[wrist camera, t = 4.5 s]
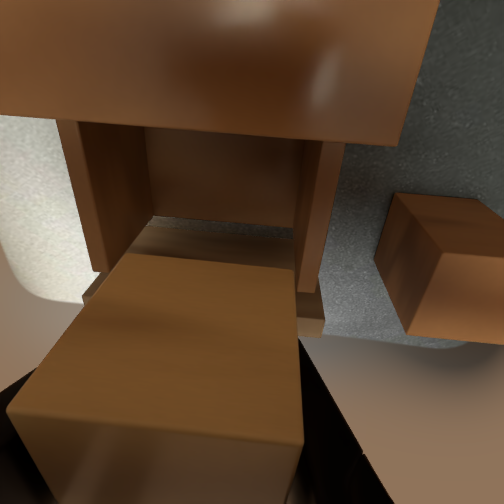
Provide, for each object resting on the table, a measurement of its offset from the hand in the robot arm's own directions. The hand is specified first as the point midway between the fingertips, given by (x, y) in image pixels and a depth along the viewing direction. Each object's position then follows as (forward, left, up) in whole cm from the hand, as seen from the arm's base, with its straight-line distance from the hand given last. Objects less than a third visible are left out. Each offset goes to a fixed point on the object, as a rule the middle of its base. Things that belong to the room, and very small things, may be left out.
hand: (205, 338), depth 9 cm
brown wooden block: (+5, -11, -13) cm, 17 cm away
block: (0, 0, -1) cm, 1 cm away
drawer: (-1, +1, -12) cm, 12 cm away
